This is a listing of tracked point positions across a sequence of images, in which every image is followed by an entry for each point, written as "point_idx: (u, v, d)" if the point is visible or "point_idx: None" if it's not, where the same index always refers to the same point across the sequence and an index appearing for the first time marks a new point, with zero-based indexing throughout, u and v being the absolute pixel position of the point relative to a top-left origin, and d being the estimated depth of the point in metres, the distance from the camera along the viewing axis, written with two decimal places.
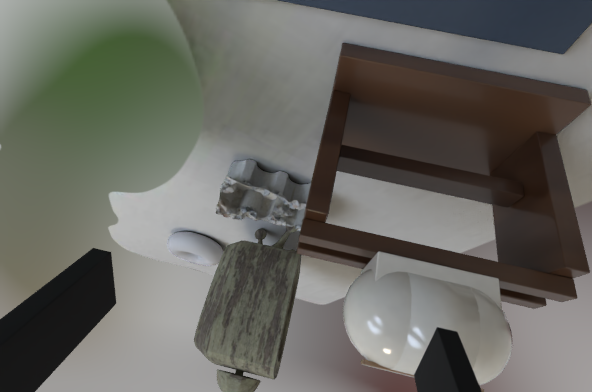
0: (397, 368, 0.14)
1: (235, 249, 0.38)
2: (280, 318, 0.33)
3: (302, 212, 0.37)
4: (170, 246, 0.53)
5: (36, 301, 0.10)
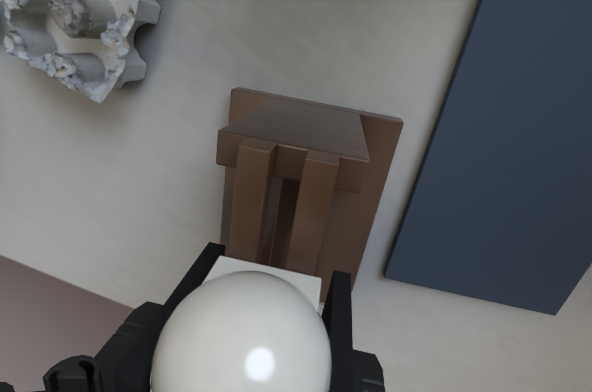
0: None
1: None
2: None
3: (49, 42, 0.19)
4: None
5: (187, 286, 0.12)
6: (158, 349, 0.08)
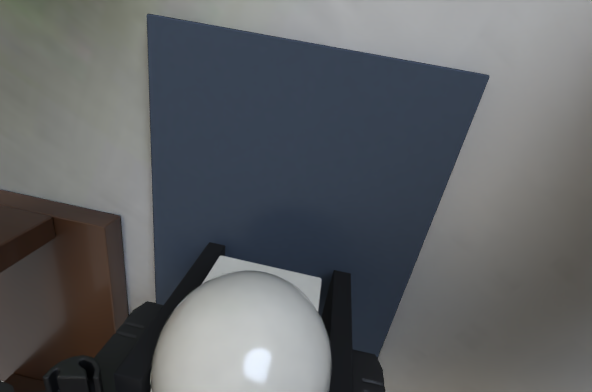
0: None
1: None
2: None
3: None
4: None
5: (187, 286, 0.12)
6: (158, 348, 0.08)
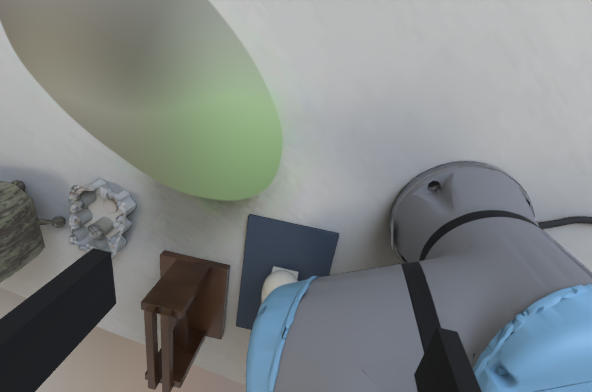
0: None
1: (25, 201, 0.39)
2: None
3: (85, 232, 0.46)
4: None
5: (36, 301, 0.10)
6: (265, 285, 0.41)
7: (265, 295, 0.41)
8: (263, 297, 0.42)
